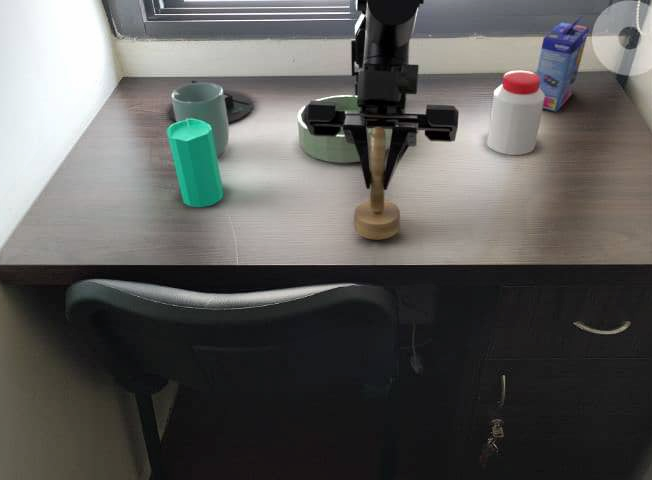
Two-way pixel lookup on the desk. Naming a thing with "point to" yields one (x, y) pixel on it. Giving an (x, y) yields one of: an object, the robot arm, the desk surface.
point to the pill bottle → (516, 113)
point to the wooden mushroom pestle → (377, 197)
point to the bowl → (333, 146)
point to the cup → (204, 109)
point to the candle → (195, 162)
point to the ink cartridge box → (560, 62)
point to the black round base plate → (231, 106)
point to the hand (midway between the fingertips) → (376, 188)
